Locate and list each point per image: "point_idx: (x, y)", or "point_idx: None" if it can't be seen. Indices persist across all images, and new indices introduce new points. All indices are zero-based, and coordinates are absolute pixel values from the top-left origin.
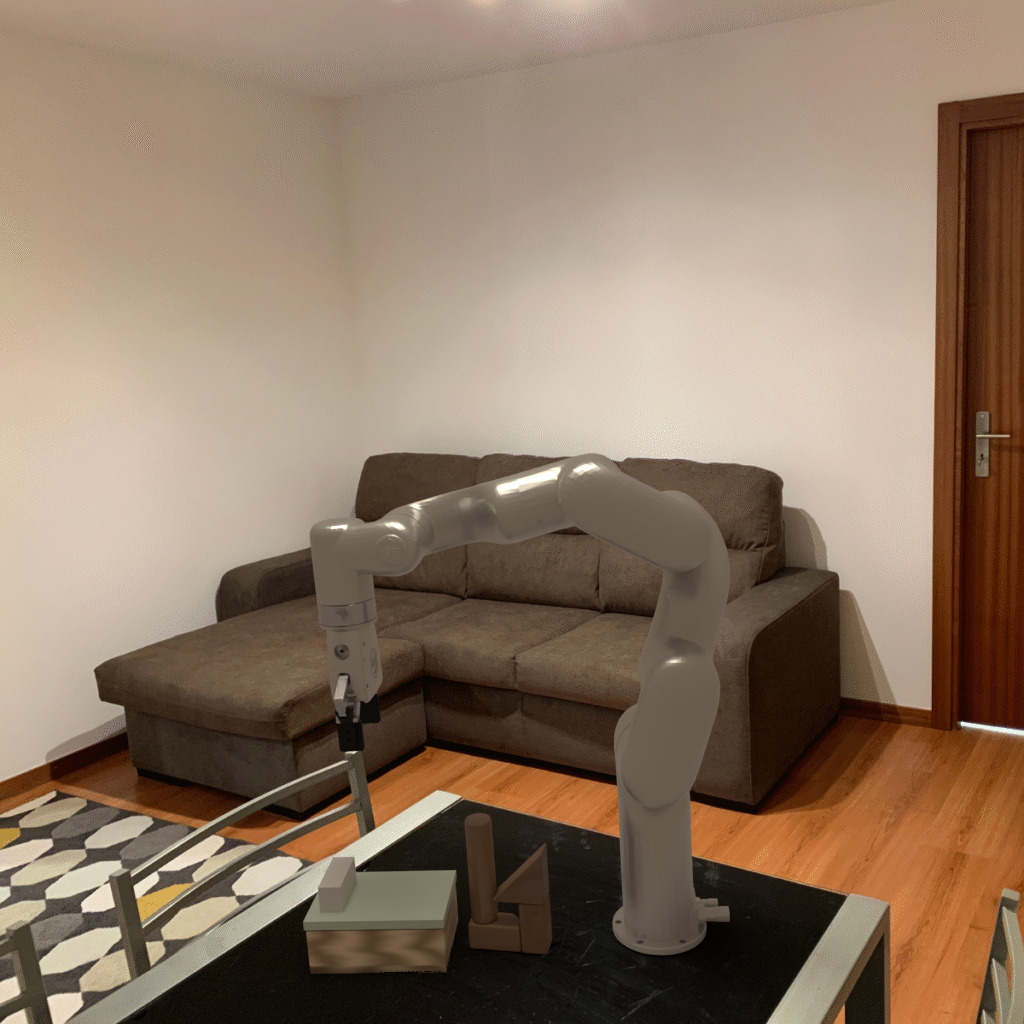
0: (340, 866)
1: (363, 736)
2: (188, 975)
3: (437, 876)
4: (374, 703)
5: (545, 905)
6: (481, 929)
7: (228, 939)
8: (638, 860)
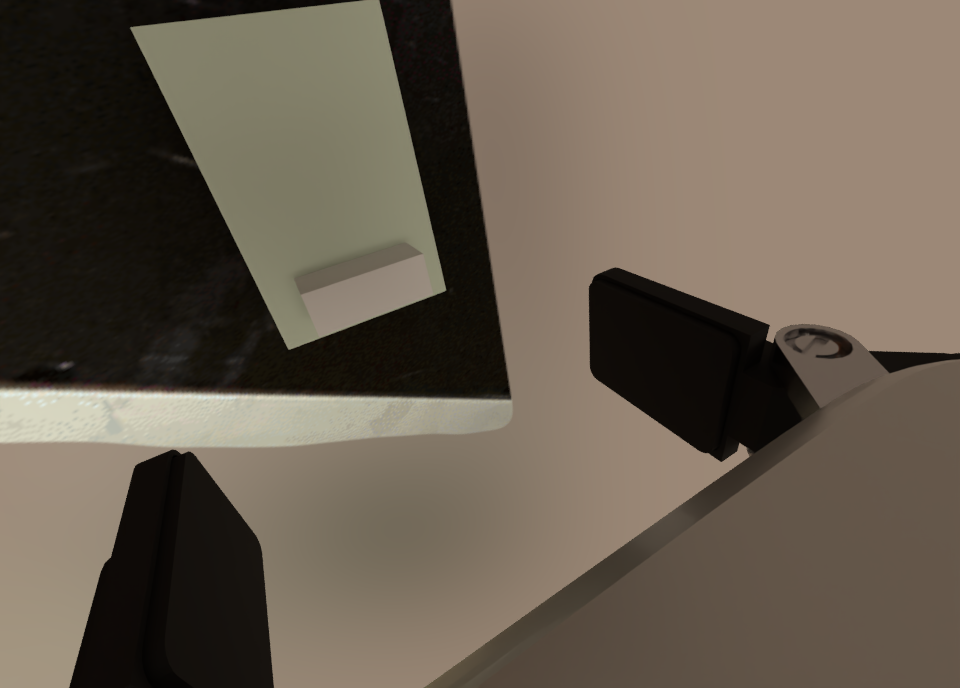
0: (350, 299)
1: (653, 291)
2: (447, 399)
3: (193, 80)
4: (187, 596)
5: None
6: None
7: (373, 414)
8: None
